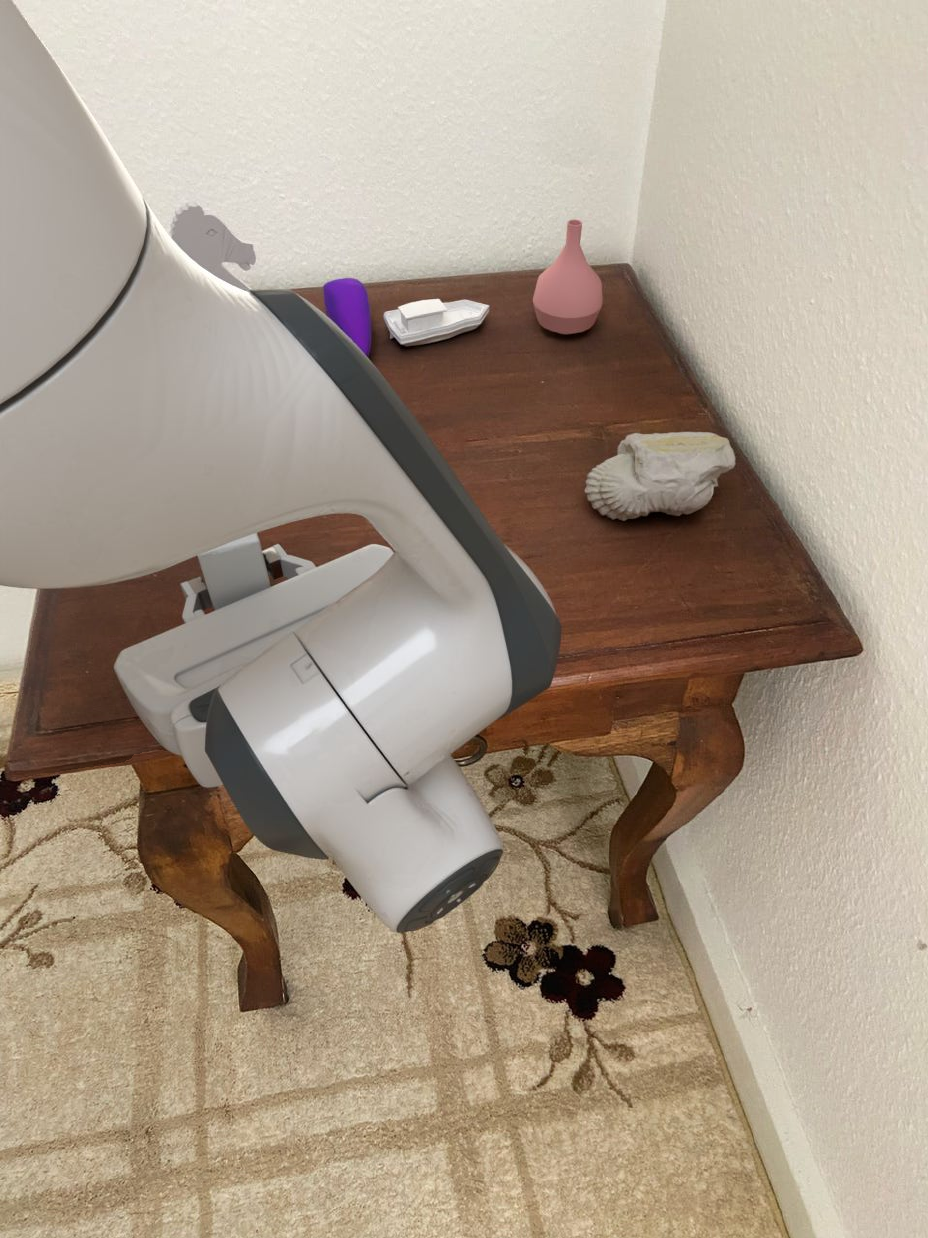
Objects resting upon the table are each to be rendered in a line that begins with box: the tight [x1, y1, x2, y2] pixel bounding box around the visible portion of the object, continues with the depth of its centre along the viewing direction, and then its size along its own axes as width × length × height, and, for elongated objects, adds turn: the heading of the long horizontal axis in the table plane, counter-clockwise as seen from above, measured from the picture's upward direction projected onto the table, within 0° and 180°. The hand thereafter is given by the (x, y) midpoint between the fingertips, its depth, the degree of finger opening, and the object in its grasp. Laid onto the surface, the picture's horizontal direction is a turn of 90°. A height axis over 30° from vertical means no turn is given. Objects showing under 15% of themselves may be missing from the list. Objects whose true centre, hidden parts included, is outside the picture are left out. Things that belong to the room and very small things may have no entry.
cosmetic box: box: [196, 532, 272, 611], centre depth 63 cm, size 6×4×12 cm
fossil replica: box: [584, 431, 736, 522], centre depth 75 cm, size 12×8×10 cm
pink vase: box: [532, 218, 604, 335], centre depth 94 cm, size 8×8×12 cm
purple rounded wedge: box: [322, 277, 373, 358], centre depth 96 cm, size 5×5×15 cm
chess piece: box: [169, 200, 257, 293], centre depth 92 cm, size 10×10×15 cm
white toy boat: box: [383, 298, 490, 347], centre depth 97 cm, size 6×12×3 cm, turn 112°
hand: (230, 569), depth 63 cm, fingers closed on cosmetic box, 5 cm apart
